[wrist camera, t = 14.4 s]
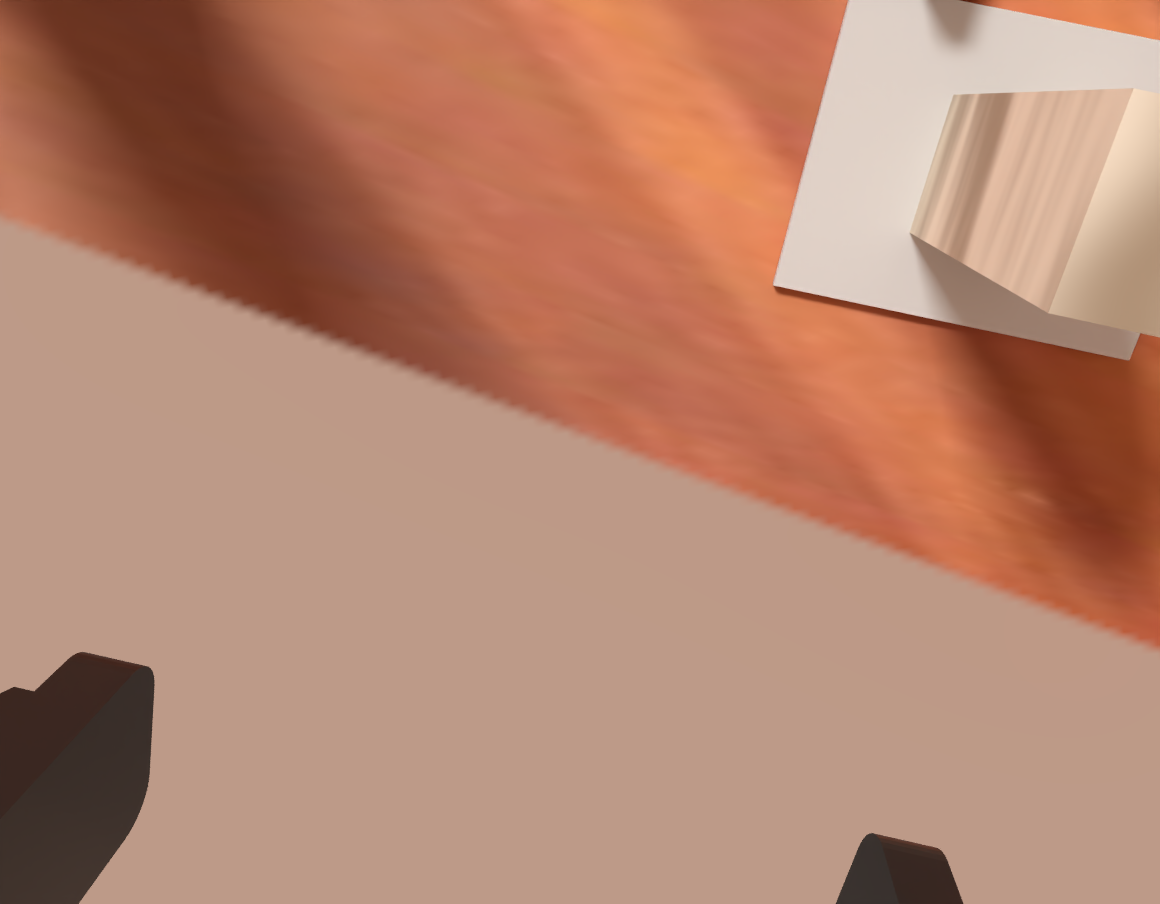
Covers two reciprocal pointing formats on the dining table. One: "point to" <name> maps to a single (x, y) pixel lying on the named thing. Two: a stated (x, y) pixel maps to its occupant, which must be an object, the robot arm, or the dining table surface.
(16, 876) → the robot arm
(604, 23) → the dining table surface
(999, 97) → the ash block
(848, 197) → the mat
